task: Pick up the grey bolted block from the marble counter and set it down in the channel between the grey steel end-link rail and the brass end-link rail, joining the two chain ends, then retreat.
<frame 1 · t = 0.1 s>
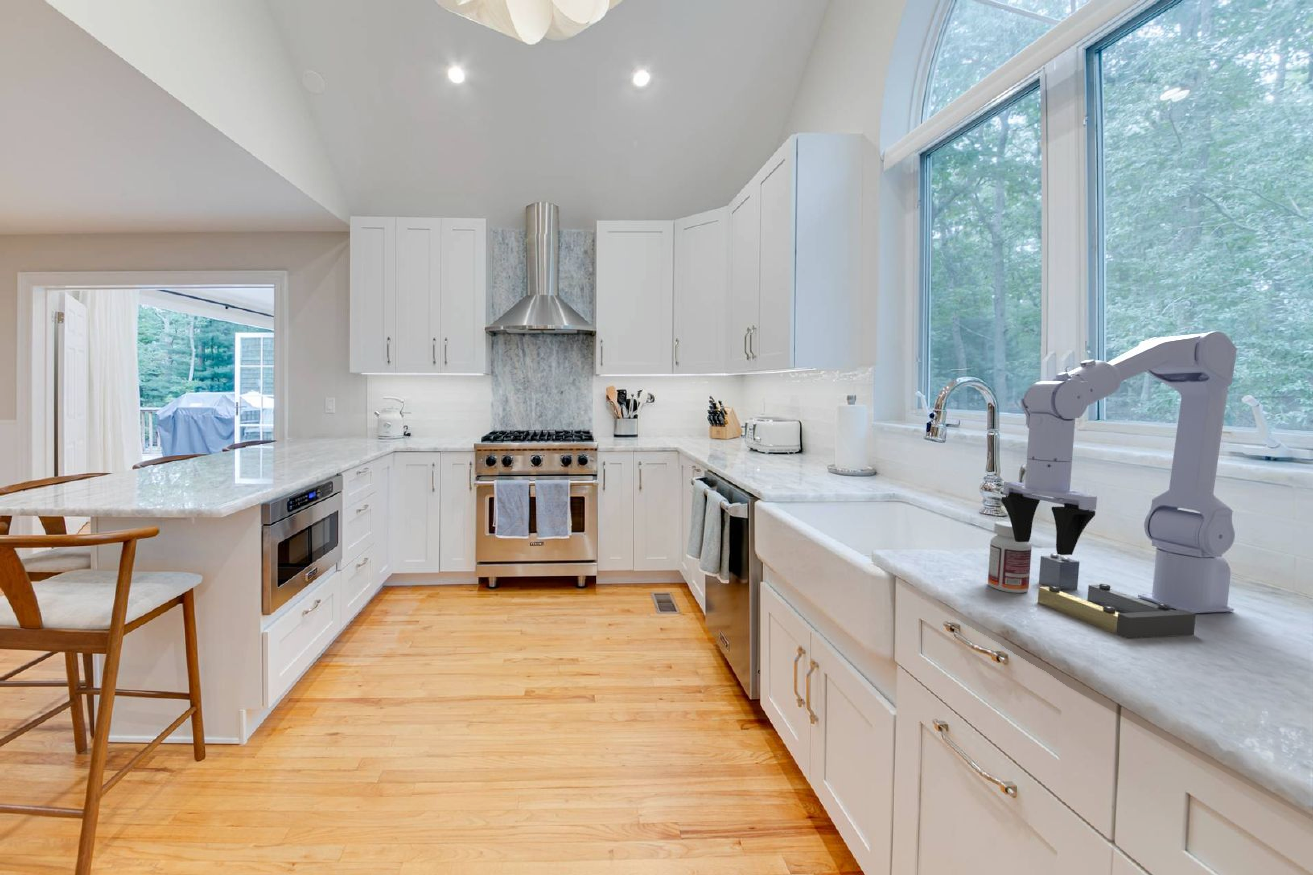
hand: (1042, 547, 88), 10 cm above the table, fingers open, 7 cm apart
pill bottle: (1007, 589, 101), on the table
steel end link: (1131, 613, 89), on the table
brass end link: (1079, 616, 87), on the table
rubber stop: (1155, 634, 81), on the table
grey bolted block: (1057, 586, 103), on the table
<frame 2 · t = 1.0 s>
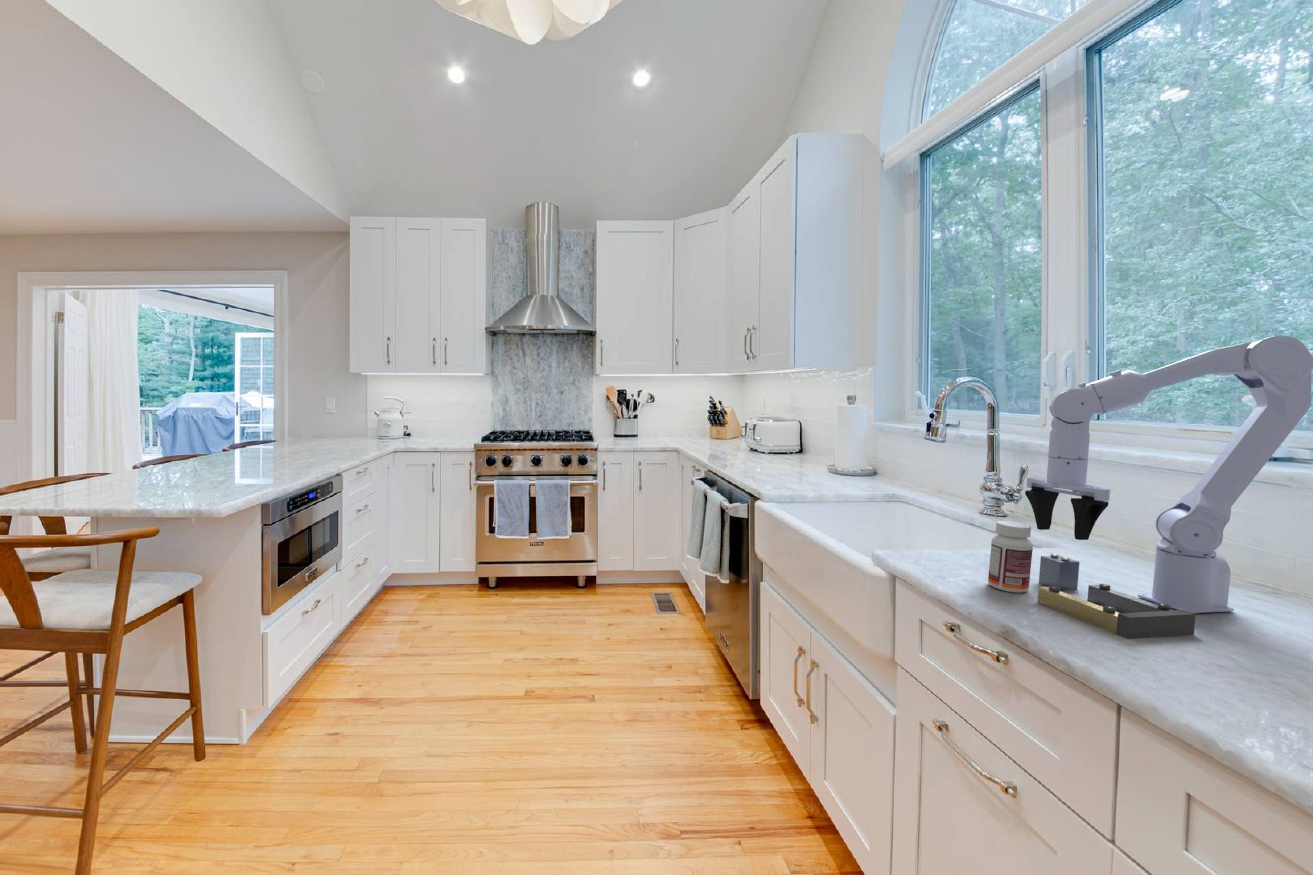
hand: (1061, 534, 102), 9 cm above the table, fingers open, 7 cm apart
nothing on the table moved.
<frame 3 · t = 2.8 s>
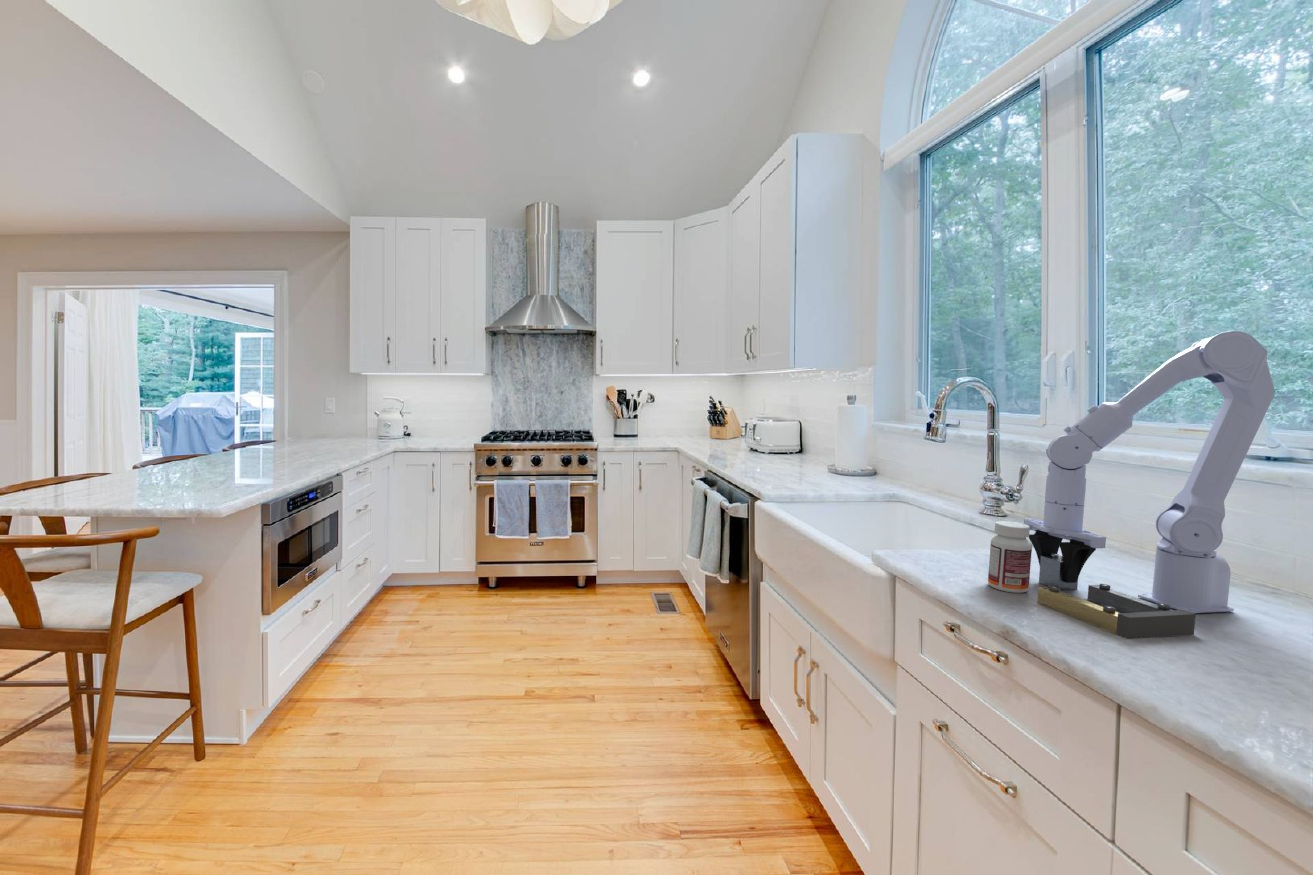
hand: (1058, 578, 103), 1 cm above the table, fingers closed on grey bolted block, 4 cm apart
grey bolted block: (1057, 585, 103), on the table, touching gripper
everything else where it was.
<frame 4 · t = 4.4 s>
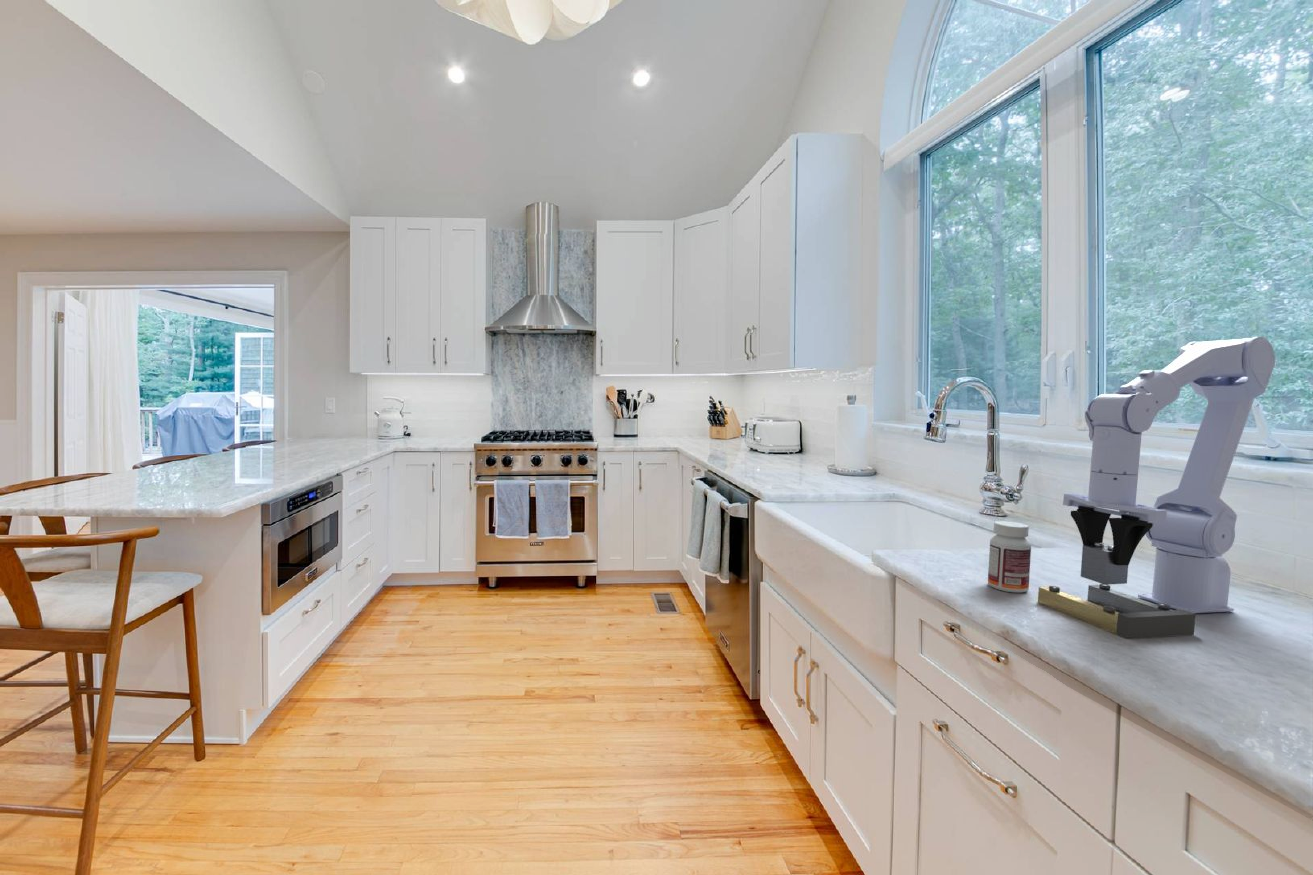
hand: (1106, 560, 88), 8 cm above the table, fingers closed on grey bolted block, 4 cm apart
grey bolted block: (1103, 579, 88), point 5 cm above the table, touching gripper
everything else where it was.
when the fingers open (3 cm above the table, at t = 6.3 s): grey bolted block stays where it is, on the table.
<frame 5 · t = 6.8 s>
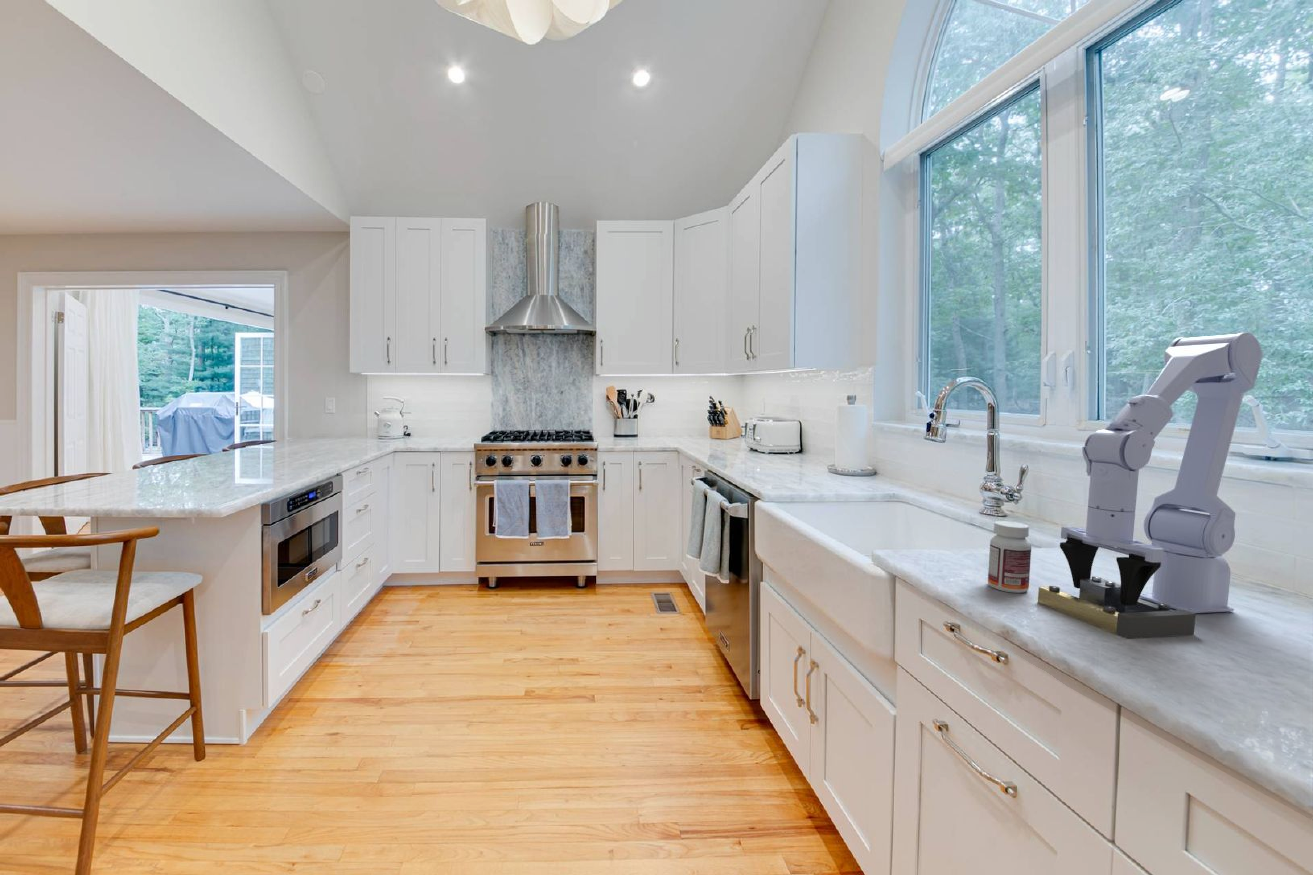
hand: (1103, 595, 89), 3 cm above the table, fingers open, 7 cm apart
grey bolted block: (1100, 614, 89), on the table
everything else where it was.
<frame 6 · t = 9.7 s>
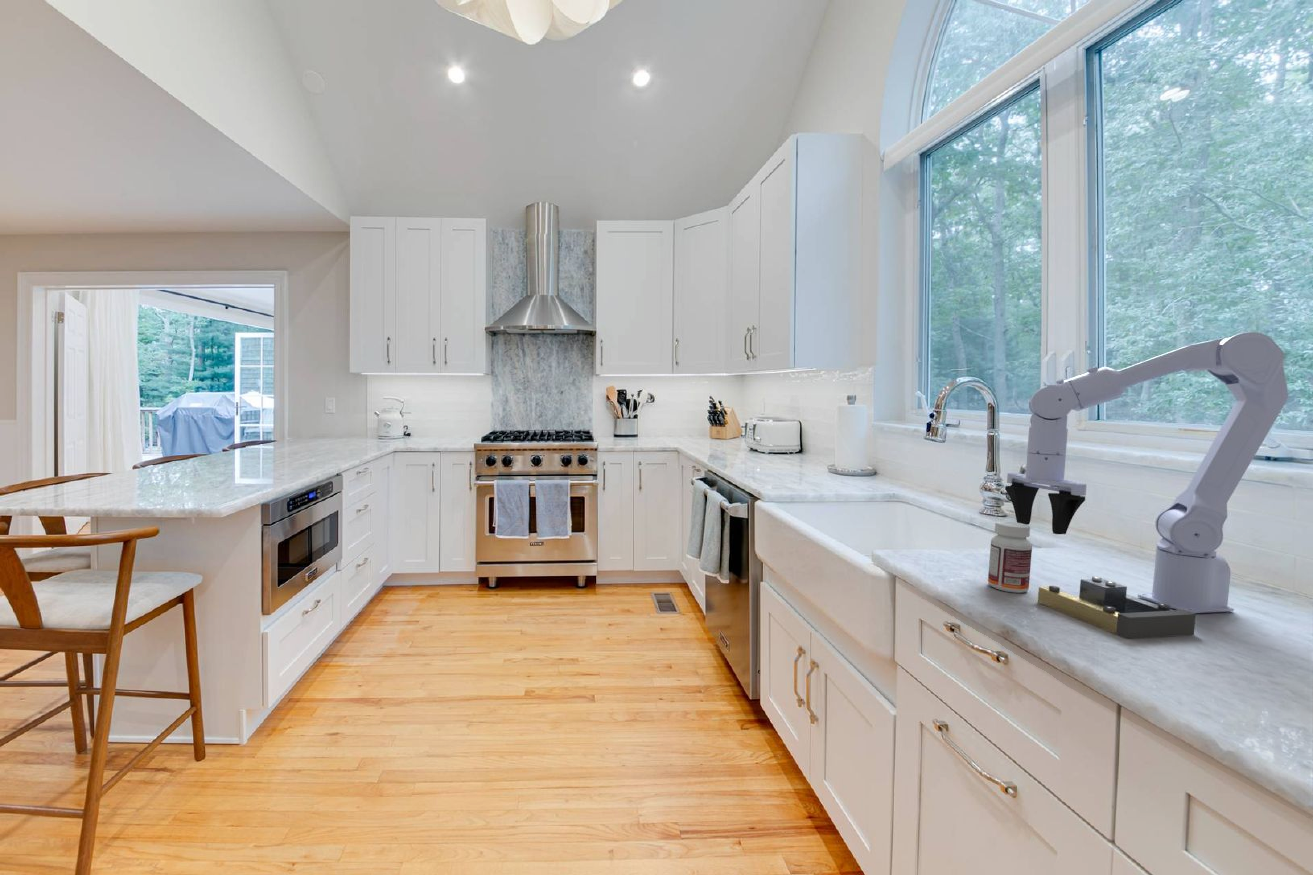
hand: (1040, 528, 103), 10 cm above the table, fingers open, 7 cm apart
nothing on the table moved.
at the end: grey bolted block inside the target area (0.8 cm from its centre), on the table; grey bolted block tilted 0°; the gripper is holding nothing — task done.
